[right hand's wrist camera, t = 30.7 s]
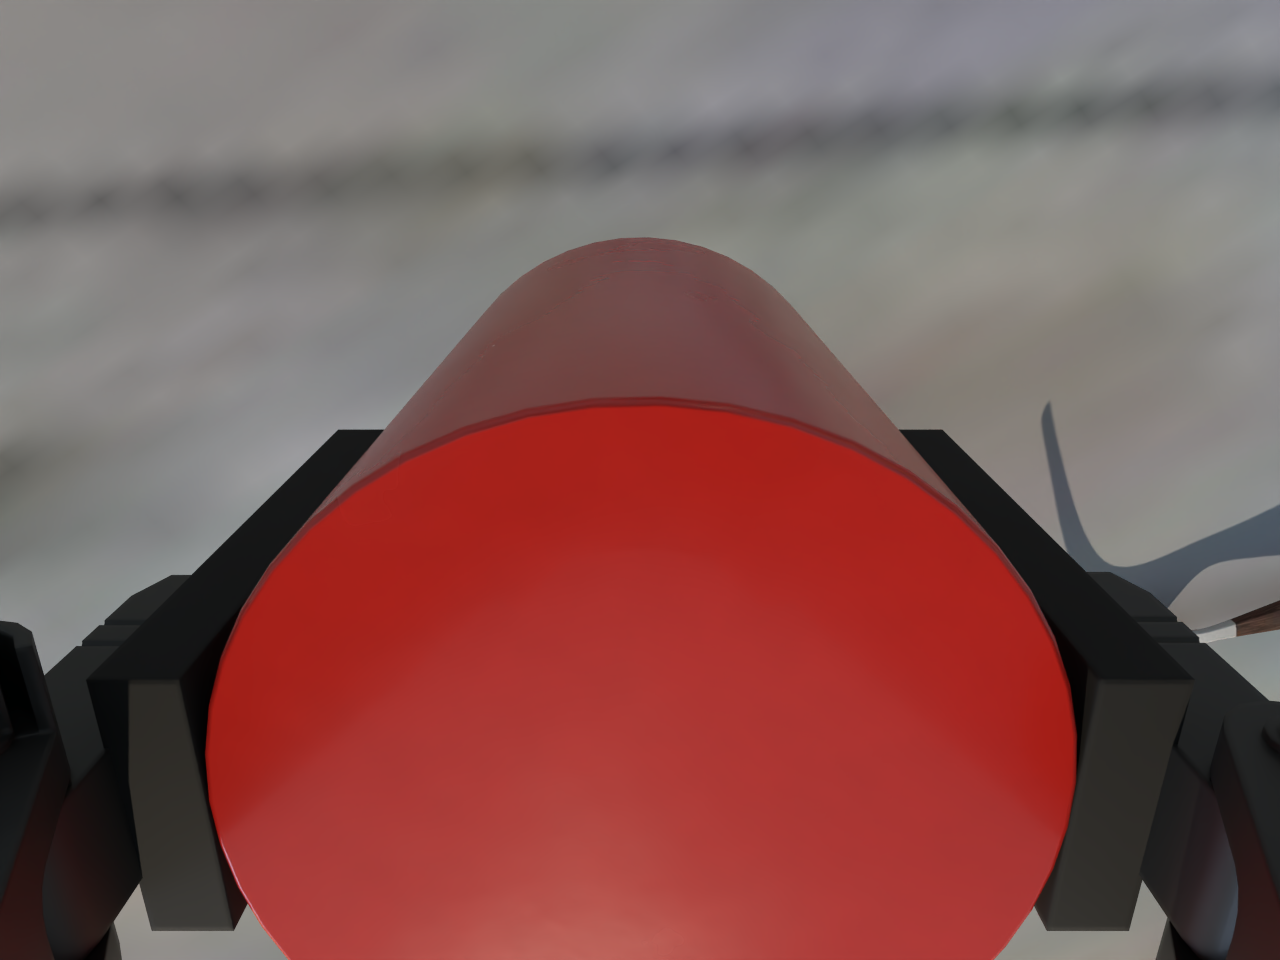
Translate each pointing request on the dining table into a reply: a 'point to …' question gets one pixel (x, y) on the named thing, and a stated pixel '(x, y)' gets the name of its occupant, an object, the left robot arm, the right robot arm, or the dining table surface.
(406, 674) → the red cylinder
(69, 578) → the dining table surface
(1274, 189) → the dining table surface
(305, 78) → the dining table surface
